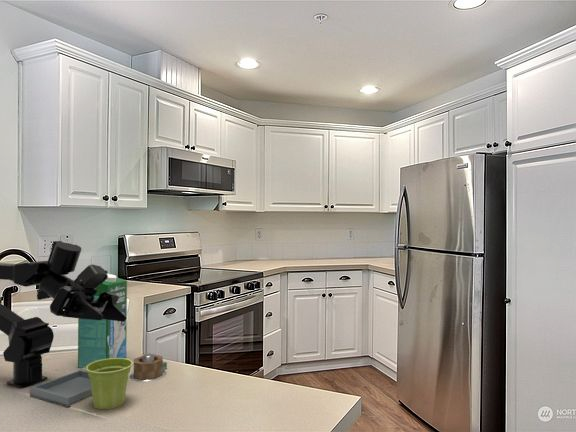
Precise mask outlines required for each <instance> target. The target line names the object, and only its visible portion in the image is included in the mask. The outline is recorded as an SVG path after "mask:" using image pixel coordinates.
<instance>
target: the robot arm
mask: <svg viewBox="0 0 576 432" xmlns="http://www.w3.org/2000/svg"><path fill="white" fill-rule="evenodd" d="M81 252H82V246H80V245H78V244H73V243H69V242H64V241H61V240H55V241H53V242H52V245H51V250H50V254H49V256H48V259H47V260H40V261H30V262H23V263H9V262H8V263H5V262H0V280H7V281H12V282H13V284H16V285H18V286H22V287H26V288H27V287H31V286H38V288H37V289H36V292H37V294H36V299H37V300H38V301H41V300H46V299H52V301H51V304H50V305H49V309H50V310H49V311H50V314H51V313H52V314H53V315H54V316H56V317H63V318H73V319H78V318H80V319H90V320H99V321H101V320H102V319H106V320H114V321H122V322H125V321H126V319H127V318H128V317H126V316H125V315H124V314H123V312H122V311H121V310H120V309H119V308H118V306H117V304H116V303H117V301H118V299H119V296H117V295H116V294H114V293H109V292H104V293H101V294H100V296H99V298H98V299H97V301H96V300H94V295H95V294H96V293H97V291H98V290H97V289H95V288H96V287H97V286H98V285H99V284H102V283H103V282H104V281H105V280H106V279H107V278H108V275H107V274H109V272H108V270H105V269H104V268H103V267H102V266H100V265H95V264H89V265H88V266H86V267H85V268H84V269H83V270H82V271H81V272H80V273H79V274H78V275H77V276H76V279H71V278H70V277H69V276H67V275H69V274H70V273H73V272H75V271H76V267H77V265H78V262H79V258H80V255H81ZM49 325H50V323H49V322H45V321H44V320H42V319H41V318H40V317H38V316H34V317H31V318H26V319H25V318H23V317H22V316H20V315H18V314H17V313H16V312H15V311H13V310H11V309H10V308H8V307H7V306H5V305H4V304H2V303H1V302H0V331H1V332H2V333H4V334H5V335H7V336H8V346H7V347H6V349H5V350H4V351H3V352H2V354H3V359H4V361H5V362H9V363H12V364H13V372H12V374H13V375H12V376H13V378H12V379H11V380H7V381H6V384H7V385H10V386H13V387H17V388H21V389H25V388H27V387H31V386H33V385H35V384H36V385H37V384H40V383H42V382H44V381H48V378H49V377H48V376H44V375H43V361H42V360H43V356H42V355H45V354H49V353H50V351H51V347H52V344H53V340H54V337H55V336H54V332H53V331H54V330H53V329H52V328H51V327H50V326H49Z"/></svg>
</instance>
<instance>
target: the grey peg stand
mask: <svg viewBox="0 0 576 432" xmlns="http://www.w3.org/2000/svg"><path fill="white" fill-rule="evenodd" d="M154 355H155V354H154V353H144V354H142V356H143V362H144V363H145V362H153V361H154ZM166 376H167V371H166V370H165V369H164V370H163V375H162V376H160V377H158V378H156V379H151V380H143V381H142V380H137V379H134V372H133V373H132V374H130V376H128V379H130V380H131V381H132V382H133V381H134V382H138V383H147V382H153V381H154V382H155V381H158V380H160V379H162V378H165V377H166Z"/></svg>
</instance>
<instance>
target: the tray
mask: <svg viewBox="0 0 576 432" xmlns="http://www.w3.org/2000/svg"><path fill="white" fill-rule="evenodd" d="M29 387H30V388H29V396H30V397H31V398H34V399H38V400H41V401H44V402H48V403H51V404H54V405H58V406H61V407H65V408H70V407H72V405H74V404H77V403H79V402H81V401H83V400H86V399H88V398H90V397H92V389H91V382H90V377H89V376H88V372H87V371H86V369H78V370H76V371H73V372H69V373H67V374H64V375H61V376H58V377H56V378H53V379H49V380H46V381H45V382H44V381H43V382H40V383H38V384H36V385H34V386H33V385H32V386H29Z"/></svg>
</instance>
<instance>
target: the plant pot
mask: <svg viewBox="0 0 576 432" xmlns="http://www.w3.org/2000/svg"><path fill="white" fill-rule="evenodd" d="M132 366H134V361H133V360H132V359H129V358H127V357H126V358H109V359H102V360H98V361H95V362H92V363H90V364H88V365H87V366H86V367H85V370H86V371H87V372H88V376H89V377H90V382H91V389H92V396H91V397H92V405H93V408H95V409H97V410H111V409H114V408H117V407H120V406H122V405H123V403H125V400H126V399H125V398H126V392H127V386H128V380H129V374H130V372H131V368H132Z"/></svg>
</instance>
